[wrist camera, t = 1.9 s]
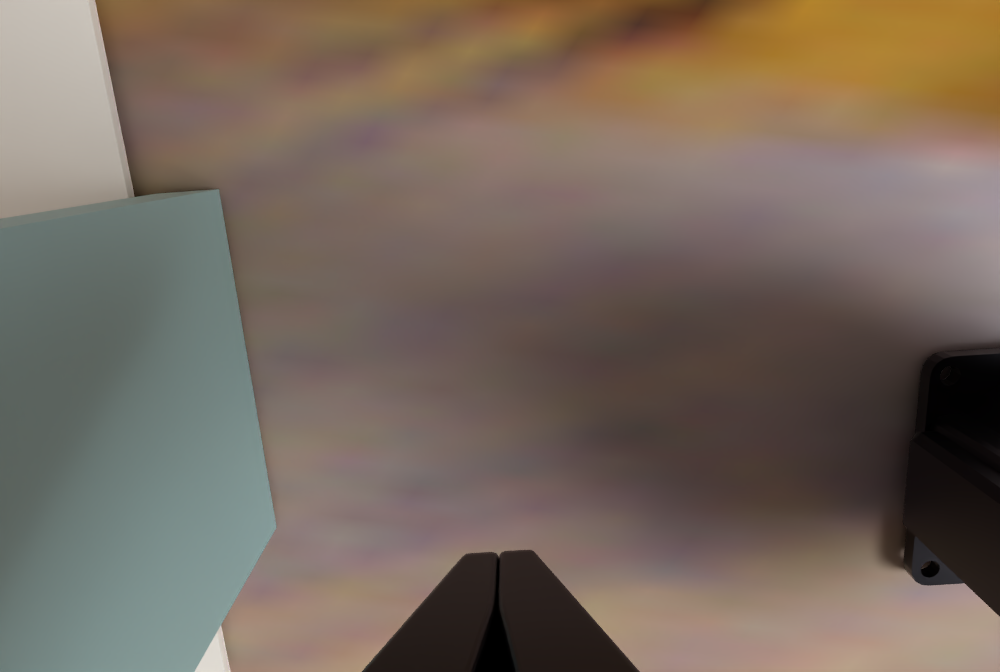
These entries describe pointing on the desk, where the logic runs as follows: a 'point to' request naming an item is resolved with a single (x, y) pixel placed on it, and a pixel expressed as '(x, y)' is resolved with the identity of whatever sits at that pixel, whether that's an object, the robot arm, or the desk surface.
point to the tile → (124, 437)
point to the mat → (62, 129)
